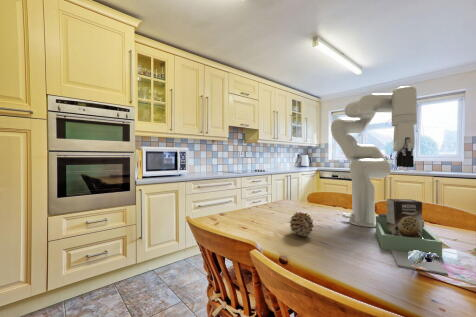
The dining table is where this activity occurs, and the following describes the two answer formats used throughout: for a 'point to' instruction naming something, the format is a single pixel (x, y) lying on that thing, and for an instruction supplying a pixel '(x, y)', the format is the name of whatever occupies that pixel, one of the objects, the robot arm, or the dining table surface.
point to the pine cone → (301, 224)
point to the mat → (403, 262)
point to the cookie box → (404, 218)
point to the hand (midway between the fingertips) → (404, 166)
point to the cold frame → (406, 239)
